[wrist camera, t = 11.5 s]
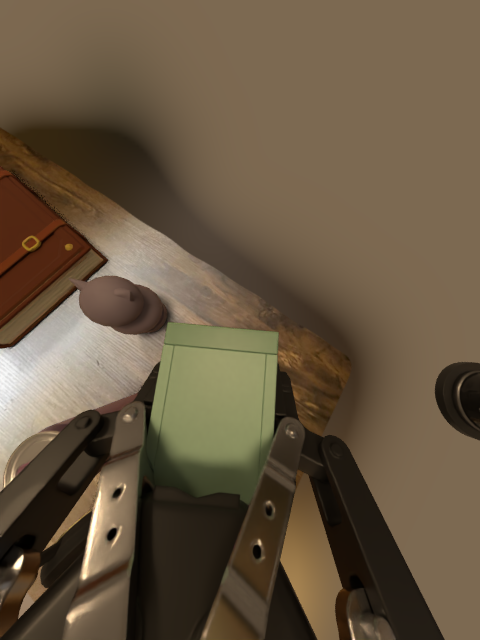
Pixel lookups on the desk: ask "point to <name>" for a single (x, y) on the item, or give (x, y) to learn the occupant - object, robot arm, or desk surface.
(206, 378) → the green open-top box
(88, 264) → the book
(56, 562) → the headphones
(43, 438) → the beverage can
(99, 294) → the cat figurine
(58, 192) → the desk surface
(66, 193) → the desk surface
